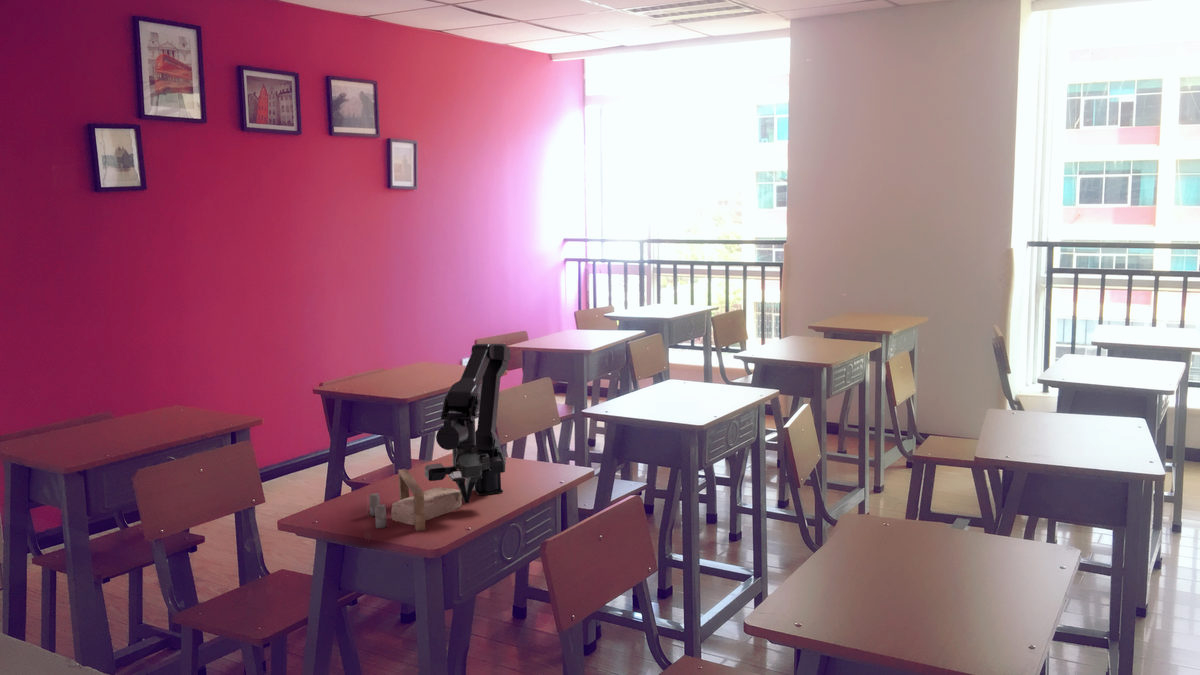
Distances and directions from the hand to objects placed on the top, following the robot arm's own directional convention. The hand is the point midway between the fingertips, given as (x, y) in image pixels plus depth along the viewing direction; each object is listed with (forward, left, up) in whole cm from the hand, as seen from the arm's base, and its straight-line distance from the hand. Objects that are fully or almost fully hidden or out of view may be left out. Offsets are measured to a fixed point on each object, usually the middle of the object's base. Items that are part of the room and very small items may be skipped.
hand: (466, 503), depth 228 cm
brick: (+9, -1, -2) cm, 10 cm away
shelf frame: (+17, 0, -2) cm, 17 cm away
